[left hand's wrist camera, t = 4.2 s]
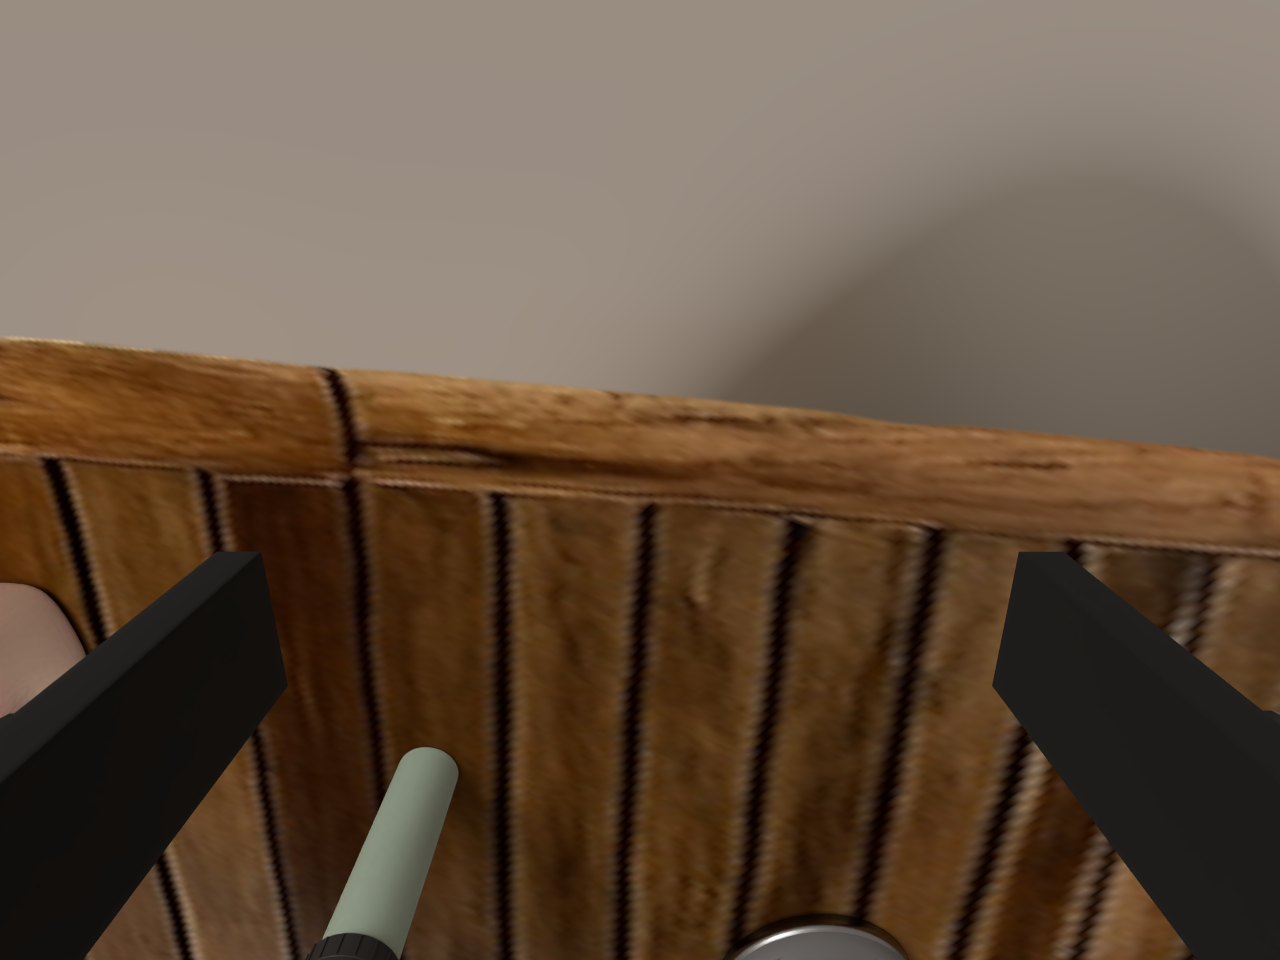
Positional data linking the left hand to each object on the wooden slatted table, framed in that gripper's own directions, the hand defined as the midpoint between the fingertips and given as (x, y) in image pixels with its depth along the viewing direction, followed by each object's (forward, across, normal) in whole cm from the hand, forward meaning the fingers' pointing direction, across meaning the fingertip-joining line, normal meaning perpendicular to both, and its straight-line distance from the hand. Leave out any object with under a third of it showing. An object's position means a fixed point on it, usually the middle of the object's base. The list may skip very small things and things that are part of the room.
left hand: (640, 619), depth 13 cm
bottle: (+28, +14, +29) cm, 43 cm away
